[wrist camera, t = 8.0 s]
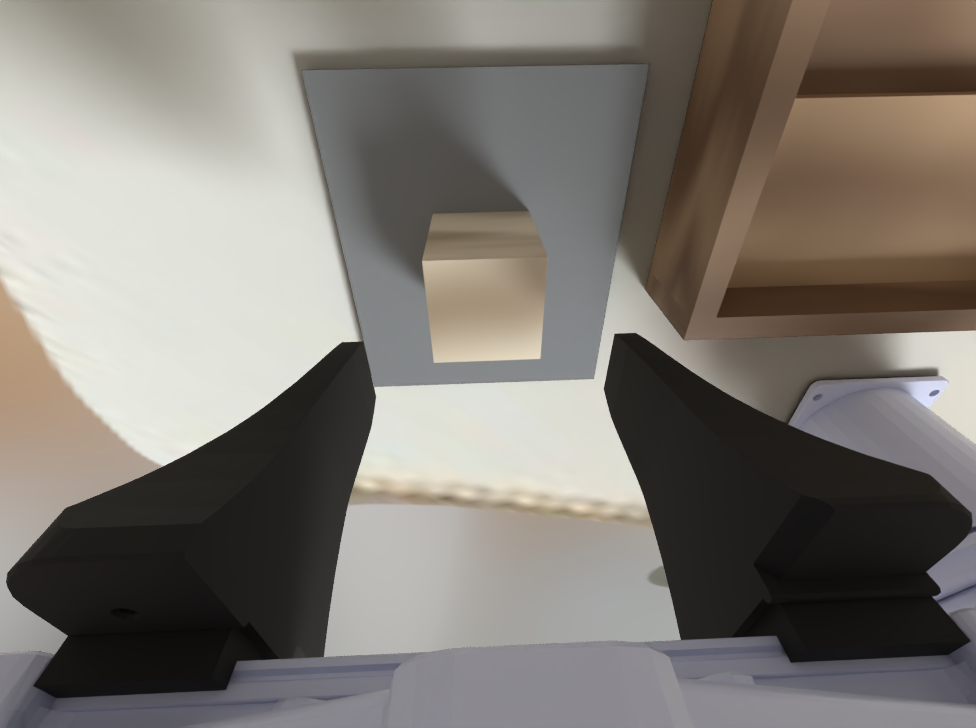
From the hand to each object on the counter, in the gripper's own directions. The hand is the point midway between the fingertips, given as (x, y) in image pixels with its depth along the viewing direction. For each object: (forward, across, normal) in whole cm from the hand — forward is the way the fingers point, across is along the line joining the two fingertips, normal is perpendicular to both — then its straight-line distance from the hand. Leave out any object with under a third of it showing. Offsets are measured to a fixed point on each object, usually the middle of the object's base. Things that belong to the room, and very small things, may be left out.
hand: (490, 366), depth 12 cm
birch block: (+8, 0, 0) cm, 8 cm away
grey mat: (+8, 0, 0) cm, 8 cm away
